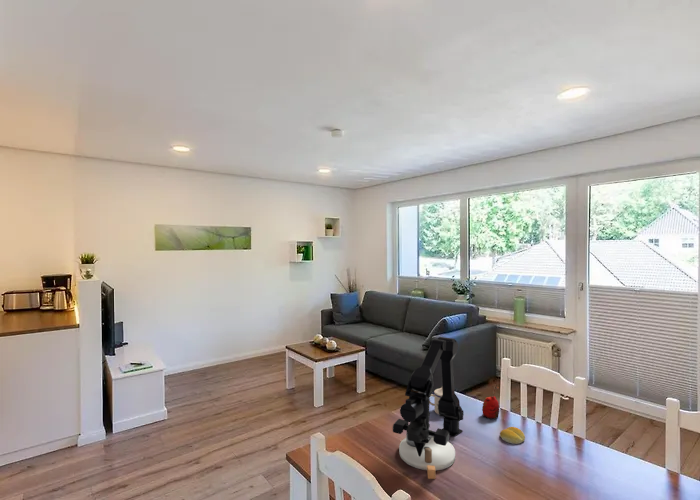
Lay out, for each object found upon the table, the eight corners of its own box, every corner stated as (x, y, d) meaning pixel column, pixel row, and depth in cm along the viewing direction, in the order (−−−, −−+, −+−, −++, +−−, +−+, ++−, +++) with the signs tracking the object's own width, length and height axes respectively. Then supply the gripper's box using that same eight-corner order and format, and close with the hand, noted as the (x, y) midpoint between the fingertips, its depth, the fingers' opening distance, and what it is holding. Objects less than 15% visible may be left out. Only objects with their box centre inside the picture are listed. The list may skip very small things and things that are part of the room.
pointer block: (427, 474, 125) (427, 465, 125) (434, 474, 125) (434, 465, 125) (428, 478, 123) (428, 469, 123) (435, 478, 122) (435, 469, 122)
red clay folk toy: (489, 411, 170) (489, 379, 170) (503, 417, 164) (503, 383, 164) (478, 416, 166) (478, 382, 166) (492, 422, 160) (492, 387, 160)
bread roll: (496, 437, 148) (495, 427, 148) (510, 431, 152) (510, 422, 152) (514, 447, 141) (514, 436, 141) (529, 440, 145) (529, 430, 145)
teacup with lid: (455, 408, 173) (454, 384, 173) (453, 417, 165) (453, 391, 165) (429, 405, 178) (428, 381, 177) (426, 413, 169) (425, 388, 169)
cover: (406, 436, 144) (406, 426, 144) (424, 437, 144) (424, 427, 143) (406, 446, 138) (406, 435, 137) (425, 447, 137) (425, 436, 137)
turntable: (399, 438, 147) (399, 423, 147) (451, 440, 145) (451, 425, 145) (399, 468, 128) (398, 451, 128) (459, 472, 125) (458, 454, 125)
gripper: (387, 413, 126) (386, 459, 126) (441, 427, 117) (440, 476, 117) (398, 402, 136) (397, 444, 136) (450, 413, 127) (449, 459, 127)
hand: (420, 456), depth 129 cm, fingers closed
